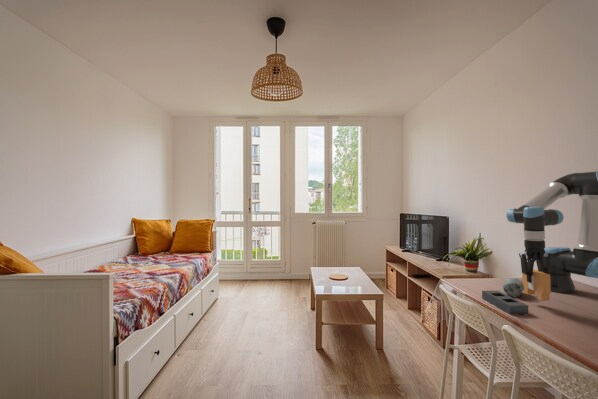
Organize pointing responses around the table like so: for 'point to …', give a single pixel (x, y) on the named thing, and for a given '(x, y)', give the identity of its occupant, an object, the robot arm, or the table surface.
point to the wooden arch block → (538, 285)
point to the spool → (513, 287)
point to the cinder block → (505, 302)
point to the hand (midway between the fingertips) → (536, 288)
